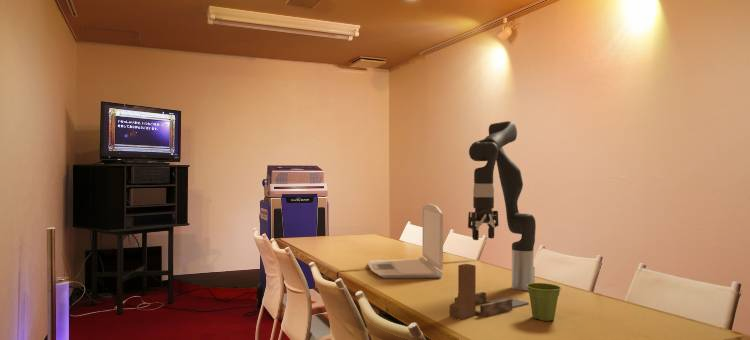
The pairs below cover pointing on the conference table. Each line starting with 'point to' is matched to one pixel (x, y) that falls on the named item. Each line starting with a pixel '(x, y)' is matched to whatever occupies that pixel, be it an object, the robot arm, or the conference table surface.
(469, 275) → the wooden block
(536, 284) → the plant pot
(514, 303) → the pad
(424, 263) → the laptop
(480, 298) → the wooden frame
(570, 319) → the conference table surface
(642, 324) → the conference table surface
